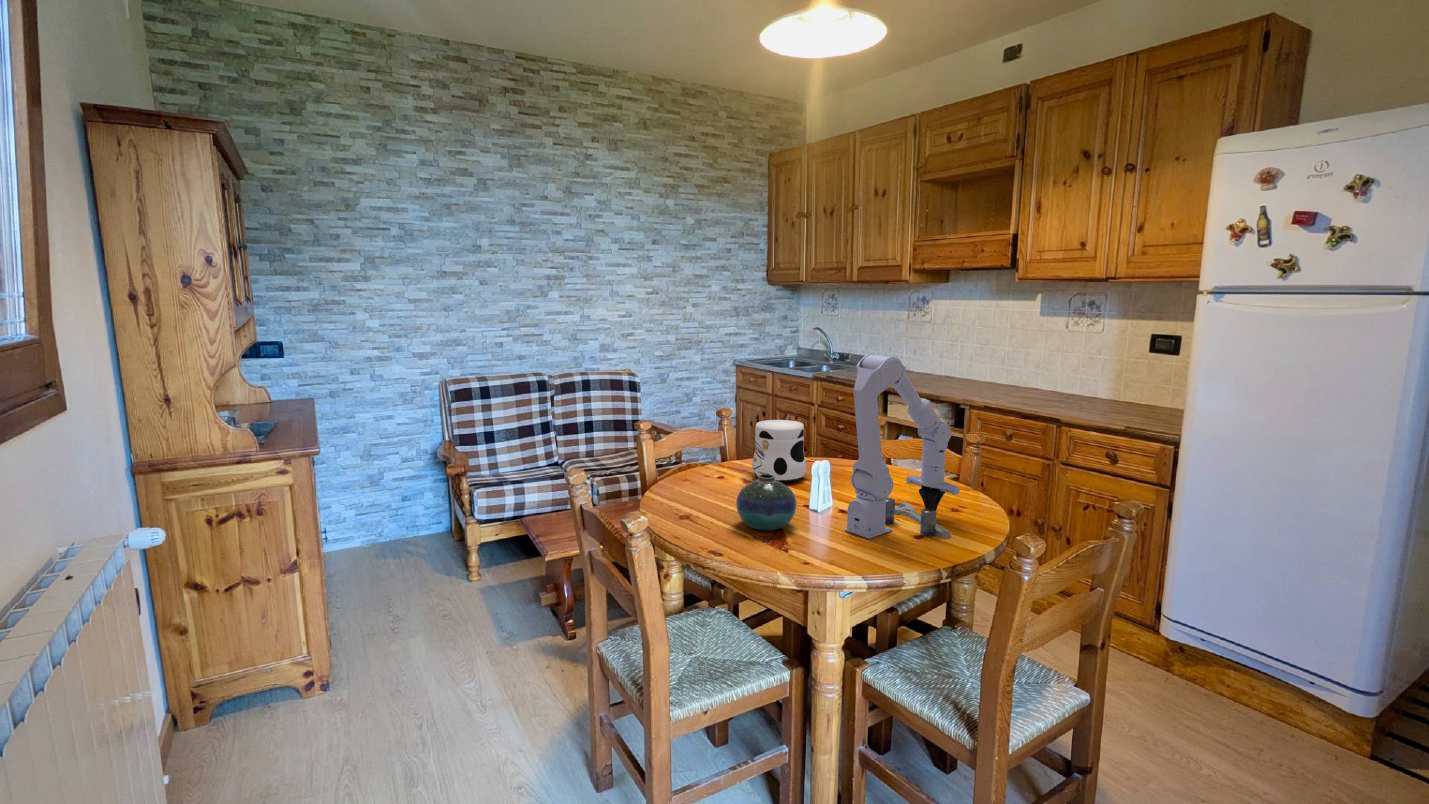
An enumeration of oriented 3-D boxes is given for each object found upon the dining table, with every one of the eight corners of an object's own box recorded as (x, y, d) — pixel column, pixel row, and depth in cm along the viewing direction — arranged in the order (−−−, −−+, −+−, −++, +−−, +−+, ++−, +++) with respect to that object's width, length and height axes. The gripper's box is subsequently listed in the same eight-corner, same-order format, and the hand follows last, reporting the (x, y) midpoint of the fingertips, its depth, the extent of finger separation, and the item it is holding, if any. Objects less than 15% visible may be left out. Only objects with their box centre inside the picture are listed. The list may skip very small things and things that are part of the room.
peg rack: (929, 537, 163) (931, 514, 162) (877, 521, 175) (878, 499, 174) (938, 534, 165) (939, 511, 164) (885, 518, 177) (886, 496, 176)
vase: (803, 535, 165) (804, 482, 163) (742, 538, 163) (743, 485, 161) (787, 515, 180) (787, 467, 178) (730, 518, 178) (731, 469, 176)
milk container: (741, 478, 217) (741, 423, 214) (776, 469, 228) (777, 417, 226) (781, 489, 204) (782, 431, 202) (816, 479, 216) (818, 424, 213)
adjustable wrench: (953, 539, 163) (954, 533, 163) (928, 541, 162) (929, 534, 162) (908, 507, 187) (908, 501, 187) (886, 508, 186) (886, 502, 186)
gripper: (967, 467, 172) (964, 518, 174) (917, 457, 183) (915, 505, 185) (952, 472, 167) (949, 524, 169) (902, 461, 178) (900, 510, 180)
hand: (930, 515), depth 177 cm, fingers closed
